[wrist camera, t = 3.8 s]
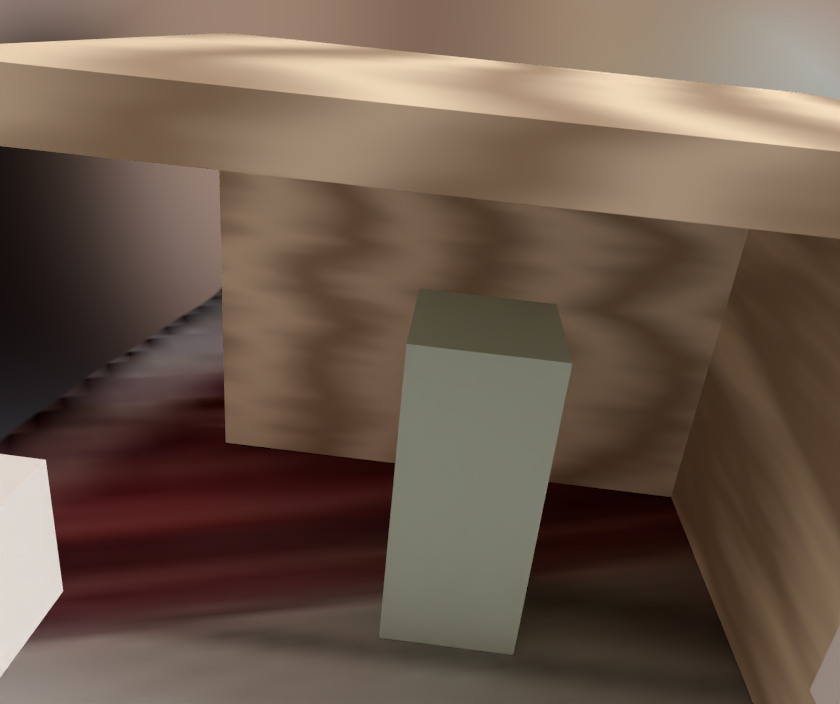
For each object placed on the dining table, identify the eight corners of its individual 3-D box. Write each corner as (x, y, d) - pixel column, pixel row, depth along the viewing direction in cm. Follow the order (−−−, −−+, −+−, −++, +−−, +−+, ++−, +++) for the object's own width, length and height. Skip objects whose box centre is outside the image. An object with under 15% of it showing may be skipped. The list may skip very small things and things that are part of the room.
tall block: (508, 563, 31) (556, 304, 26) (513, 655, 27) (572, 363, 22) (393, 548, 31) (419, 288, 26) (379, 637, 27) (406, 344, 22)
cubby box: (692, 483, 38) (811, 93, 30) (875, 882, 21) (1283, 199, 12) (234, 427, 39) (228, 32, 31) (29, 766, 21) (-115, 49, 13)
